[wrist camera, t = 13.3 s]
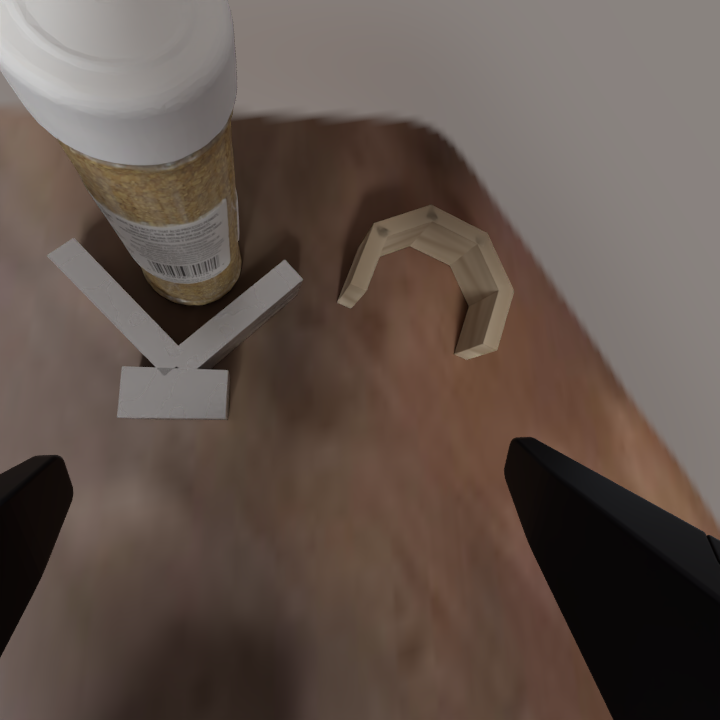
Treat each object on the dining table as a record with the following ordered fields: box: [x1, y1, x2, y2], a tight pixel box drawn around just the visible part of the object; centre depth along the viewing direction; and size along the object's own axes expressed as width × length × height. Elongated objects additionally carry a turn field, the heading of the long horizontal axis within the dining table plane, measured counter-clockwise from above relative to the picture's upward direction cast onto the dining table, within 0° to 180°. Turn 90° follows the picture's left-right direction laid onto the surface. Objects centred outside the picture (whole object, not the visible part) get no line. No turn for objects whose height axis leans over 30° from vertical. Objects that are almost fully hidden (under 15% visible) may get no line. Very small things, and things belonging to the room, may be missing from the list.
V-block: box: [47, 238, 303, 420], centre depth 19 cm, size 7×10×2 cm
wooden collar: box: [337, 205, 514, 360], centre depth 22 cm, size 6×8×3 cm
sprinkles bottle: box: [0, 0, 242, 305], centre depth 14 cm, size 5×5×13 cm
